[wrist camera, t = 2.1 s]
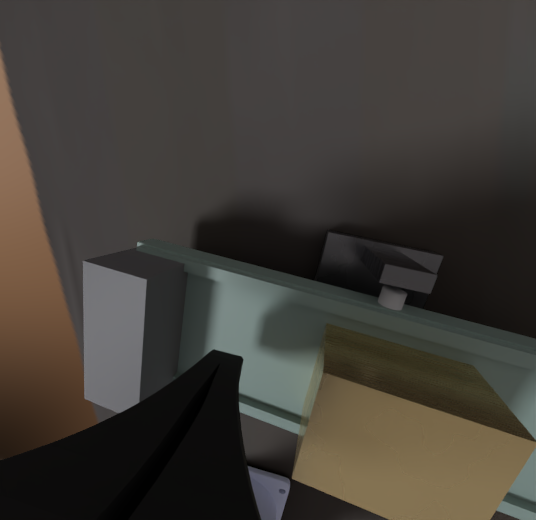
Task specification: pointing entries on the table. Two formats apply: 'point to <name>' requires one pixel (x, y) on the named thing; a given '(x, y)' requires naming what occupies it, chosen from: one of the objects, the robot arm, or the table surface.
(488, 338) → the beam
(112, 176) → the table surface
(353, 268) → the pivot stand
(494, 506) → the block
